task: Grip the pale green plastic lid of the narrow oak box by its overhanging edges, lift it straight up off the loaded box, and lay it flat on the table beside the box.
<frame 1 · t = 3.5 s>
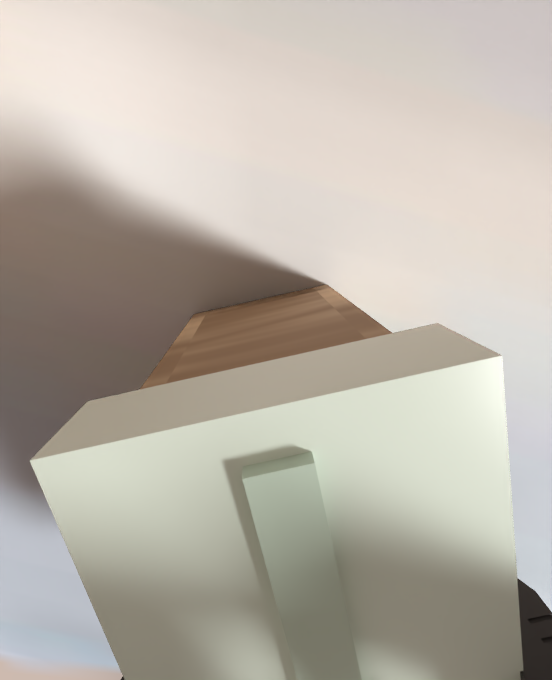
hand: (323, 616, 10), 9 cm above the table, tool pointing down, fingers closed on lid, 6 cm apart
lid: (329, 643, 9), point 10 cm above the table, touching gripper, oak box
oak box: (291, 433, 19), on the table
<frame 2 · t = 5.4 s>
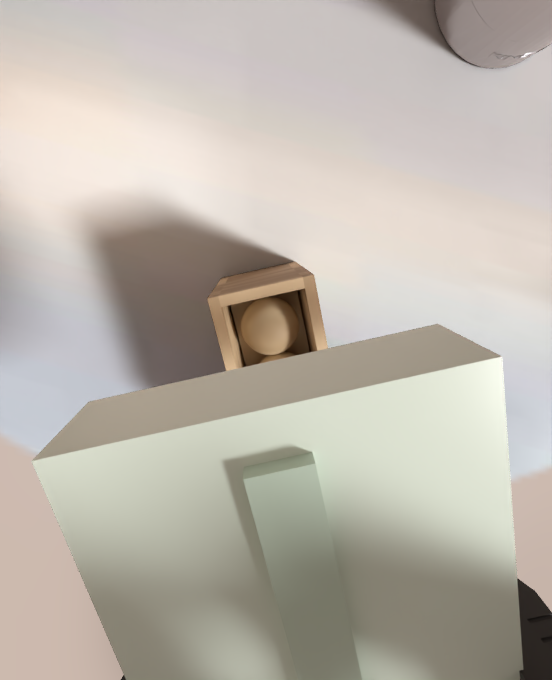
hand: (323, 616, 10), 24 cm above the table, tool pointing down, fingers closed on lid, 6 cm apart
lid: (329, 643, 9), point 24 cm above the table, touching gripper
oak box: (276, 348, 33), on the table
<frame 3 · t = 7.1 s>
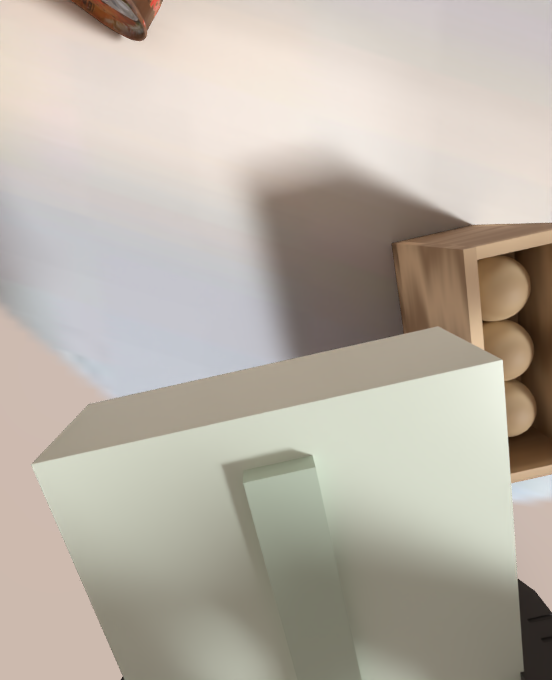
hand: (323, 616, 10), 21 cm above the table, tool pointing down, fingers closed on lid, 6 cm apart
lid: (329, 646, 9), point 21 cm above the table, touching gripper
oak box: (441, 323, 30), on the table
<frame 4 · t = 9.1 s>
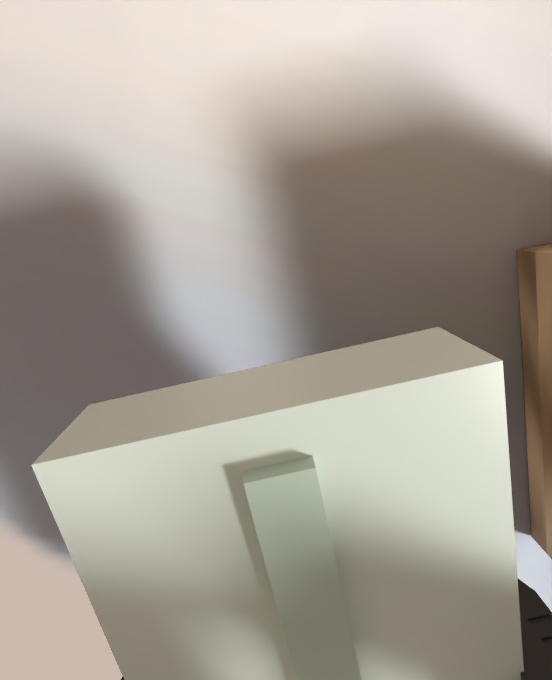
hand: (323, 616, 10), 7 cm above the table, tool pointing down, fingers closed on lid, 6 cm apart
lid: (330, 646, 9), point 8 cm above the table, touching gripper
when the fingers open (2 cm above the table, at t = 10.9 s): lid drops 2 cm, point 1 cm above the table.
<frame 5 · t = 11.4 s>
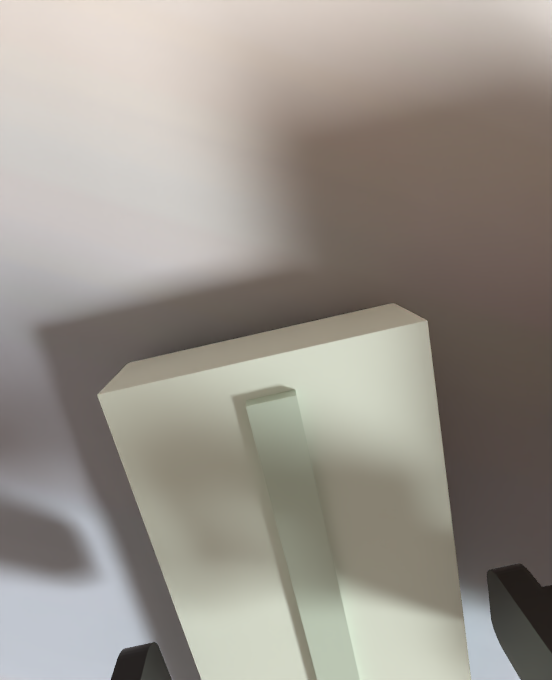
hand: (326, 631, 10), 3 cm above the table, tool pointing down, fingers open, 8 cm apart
lid: (314, 562, 12), point 1 cm above the table
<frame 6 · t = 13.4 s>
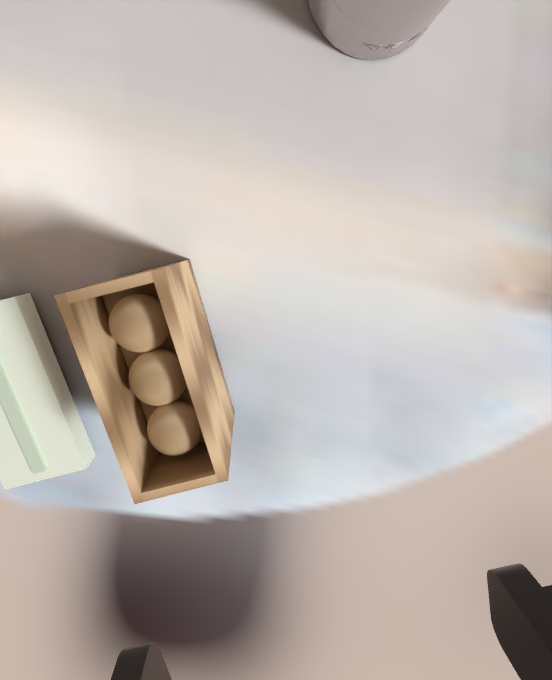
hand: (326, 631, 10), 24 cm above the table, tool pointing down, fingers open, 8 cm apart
lid: (24, 389, 32), point 1 cm above the table
oak box: (178, 348, 32), on the table
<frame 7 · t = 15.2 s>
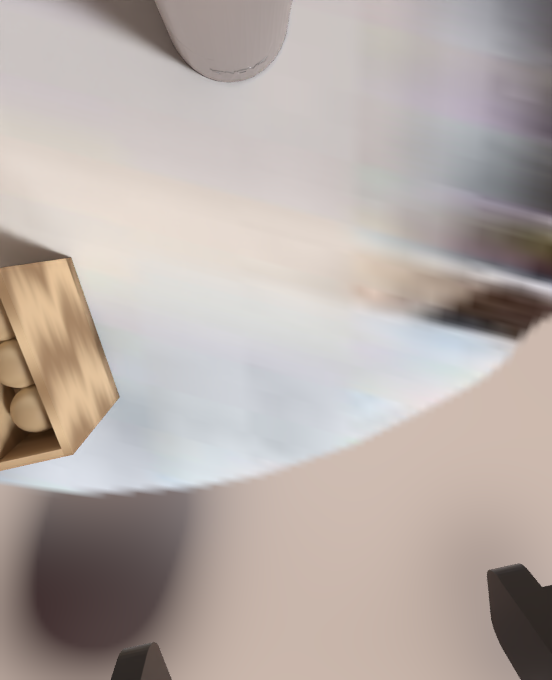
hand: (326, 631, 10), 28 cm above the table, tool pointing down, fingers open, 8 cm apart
oak box: (64, 337, 36), on the table
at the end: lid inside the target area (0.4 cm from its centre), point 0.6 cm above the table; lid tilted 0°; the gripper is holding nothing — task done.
